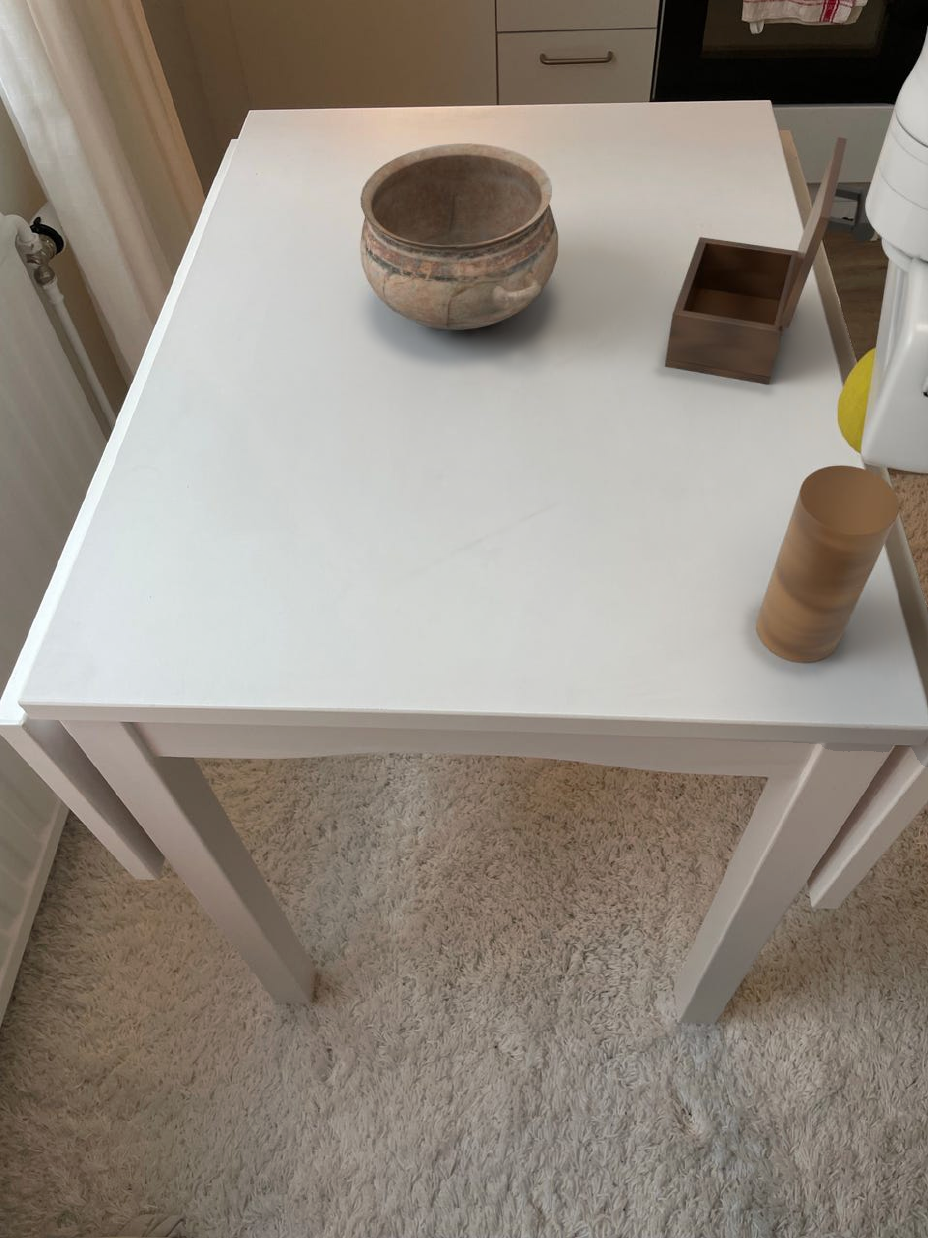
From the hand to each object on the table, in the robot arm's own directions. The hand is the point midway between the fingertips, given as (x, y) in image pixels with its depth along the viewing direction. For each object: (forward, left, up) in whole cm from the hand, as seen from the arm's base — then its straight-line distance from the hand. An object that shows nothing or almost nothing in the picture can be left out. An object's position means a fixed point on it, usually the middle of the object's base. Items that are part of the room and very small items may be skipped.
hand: (882, 416), depth 54 cm
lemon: (0, 0, -3) cm, 3 cm away
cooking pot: (+37, -31, -21) cm, 53 cm away
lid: (+6, -33, -9) cm, 35 cm away
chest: (+11, -33, -21) cm, 41 cm away
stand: (0, 0, -21) cm, 21 cm away
